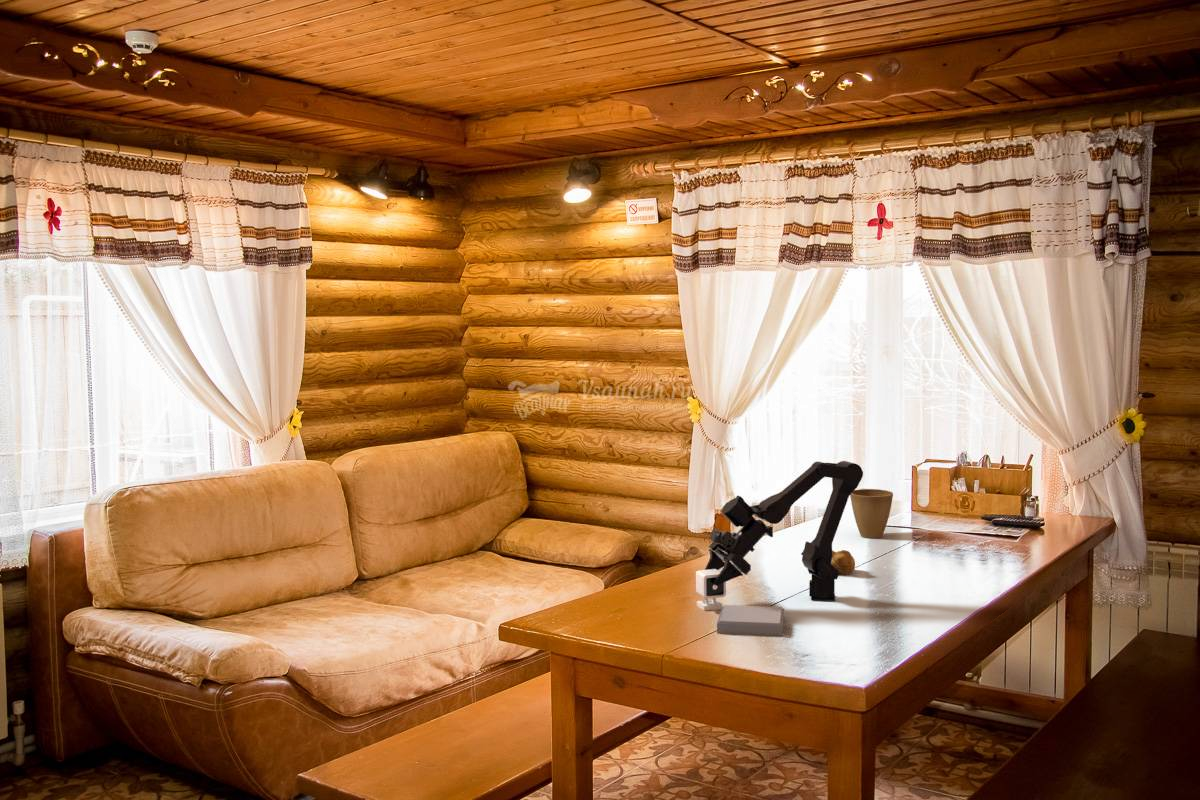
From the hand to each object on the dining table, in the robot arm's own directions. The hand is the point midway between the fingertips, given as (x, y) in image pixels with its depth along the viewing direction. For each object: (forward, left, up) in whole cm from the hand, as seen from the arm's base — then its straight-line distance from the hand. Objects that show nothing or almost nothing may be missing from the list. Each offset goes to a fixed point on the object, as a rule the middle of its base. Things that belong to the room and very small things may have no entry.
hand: (708, 580), depth 285 cm
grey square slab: (-12, +15, -8) cm, 21 cm away
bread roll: (-34, -46, -8) cm, 58 cm away
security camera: (0, 0, -8) cm, 8 cm away
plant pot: (-47, -101, -8) cm, 112 cm away
